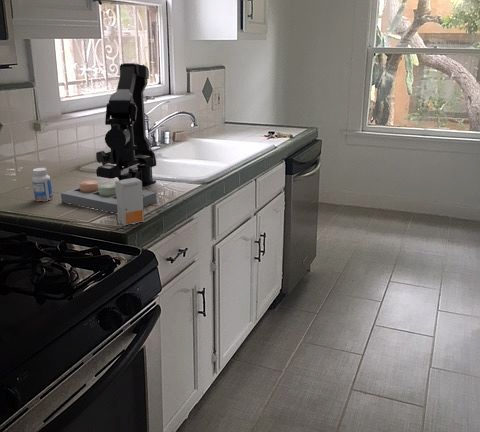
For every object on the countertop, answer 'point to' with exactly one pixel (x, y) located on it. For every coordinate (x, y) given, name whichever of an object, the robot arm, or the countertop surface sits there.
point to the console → (100, 199)
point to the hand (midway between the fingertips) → (128, 194)
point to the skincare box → (129, 201)
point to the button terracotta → (89, 186)
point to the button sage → (107, 190)
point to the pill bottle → (41, 185)
